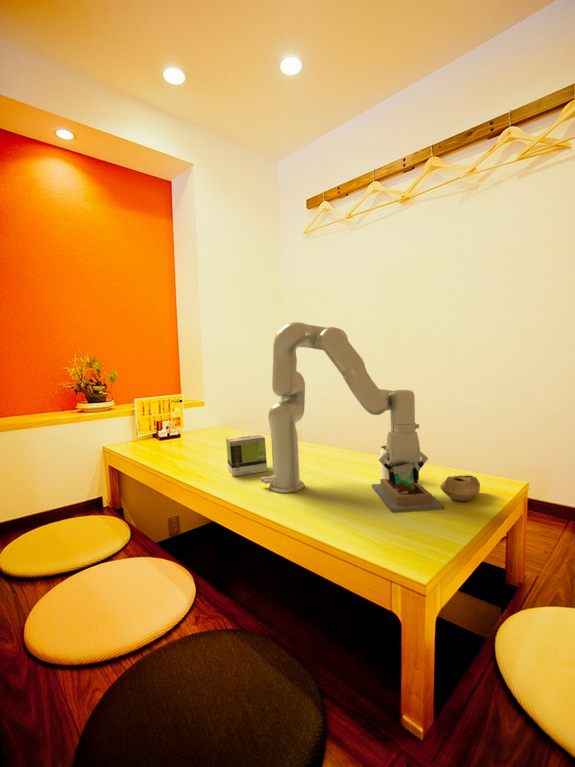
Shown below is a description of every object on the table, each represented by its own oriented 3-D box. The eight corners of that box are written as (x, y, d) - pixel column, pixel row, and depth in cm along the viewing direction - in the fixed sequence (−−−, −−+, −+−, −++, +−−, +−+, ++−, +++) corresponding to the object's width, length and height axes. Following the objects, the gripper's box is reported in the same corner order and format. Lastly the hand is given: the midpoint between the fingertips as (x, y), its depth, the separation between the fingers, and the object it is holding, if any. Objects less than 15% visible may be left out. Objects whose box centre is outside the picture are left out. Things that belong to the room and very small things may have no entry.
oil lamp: (488, 494, 121) (487, 470, 121) (470, 508, 111) (469, 482, 110) (453, 487, 129) (453, 464, 129) (434, 499, 119) (433, 475, 118)
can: (399, 481, 137) (398, 449, 136) (381, 481, 138) (380, 449, 138) (397, 476, 143) (396, 445, 143) (380, 475, 145) (379, 445, 144)
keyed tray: (391, 512, 111) (391, 500, 110) (371, 487, 133) (371, 477, 132) (444, 508, 111) (444, 497, 111) (416, 484, 133) (415, 474, 133)
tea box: (261, 465, 166) (259, 433, 165) (267, 472, 156) (265, 437, 155) (227, 470, 161) (225, 436, 160) (231, 477, 152) (229, 441, 151)
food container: (419, 497, 115) (413, 465, 115) (398, 498, 117) (392, 467, 117) (419, 485, 126) (413, 456, 127) (400, 487, 128) (394, 458, 129)
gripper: (424, 425, 125) (425, 477, 126) (373, 427, 124) (374, 480, 125) (434, 429, 117) (434, 484, 118) (379, 431, 116) (380, 487, 118)
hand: (403, 482), depth 122 cm, fingers closed on food container, 6 cm apart
